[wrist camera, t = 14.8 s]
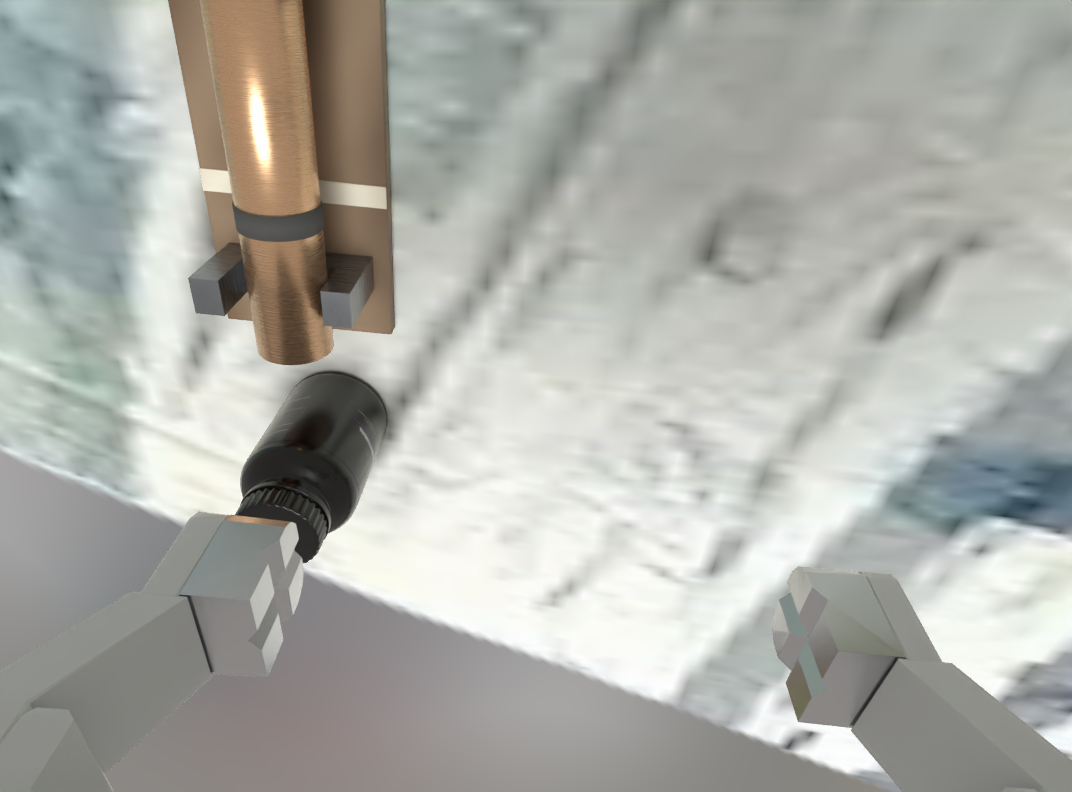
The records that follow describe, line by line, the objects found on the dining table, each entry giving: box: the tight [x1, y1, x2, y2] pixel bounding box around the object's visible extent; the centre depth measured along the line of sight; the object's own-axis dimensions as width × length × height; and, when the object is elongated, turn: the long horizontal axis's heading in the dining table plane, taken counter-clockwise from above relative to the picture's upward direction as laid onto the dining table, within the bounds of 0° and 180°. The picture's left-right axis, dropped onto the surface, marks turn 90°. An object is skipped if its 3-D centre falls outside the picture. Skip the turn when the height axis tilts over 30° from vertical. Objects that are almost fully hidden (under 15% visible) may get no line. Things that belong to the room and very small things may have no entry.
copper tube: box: [200, 0, 334, 365], centre depth 31 cm, size 22×4×4 cm, turn 175°
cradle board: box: [168, 0, 395, 334], centre depth 34 cm, size 10×24×1 cm, turn 175°
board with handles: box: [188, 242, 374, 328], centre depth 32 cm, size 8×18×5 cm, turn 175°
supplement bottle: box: [235, 373, 387, 563], centre depth 40 cm, size 7×7×12 cm
